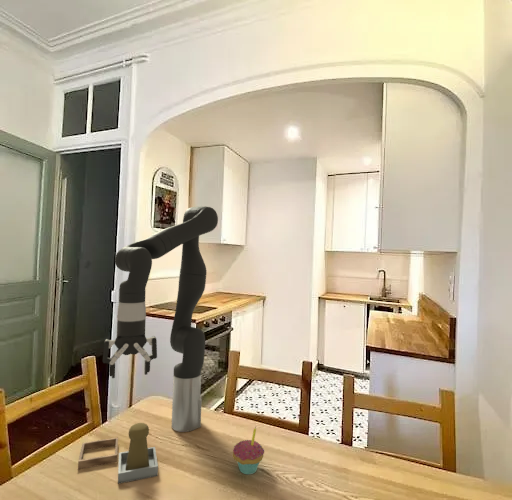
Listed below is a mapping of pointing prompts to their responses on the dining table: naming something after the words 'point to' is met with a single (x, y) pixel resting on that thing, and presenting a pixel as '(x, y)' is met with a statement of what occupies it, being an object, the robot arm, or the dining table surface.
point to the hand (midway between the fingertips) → (129, 375)
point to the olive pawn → (138, 447)
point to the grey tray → (137, 473)
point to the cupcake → (248, 455)
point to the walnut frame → (98, 460)
